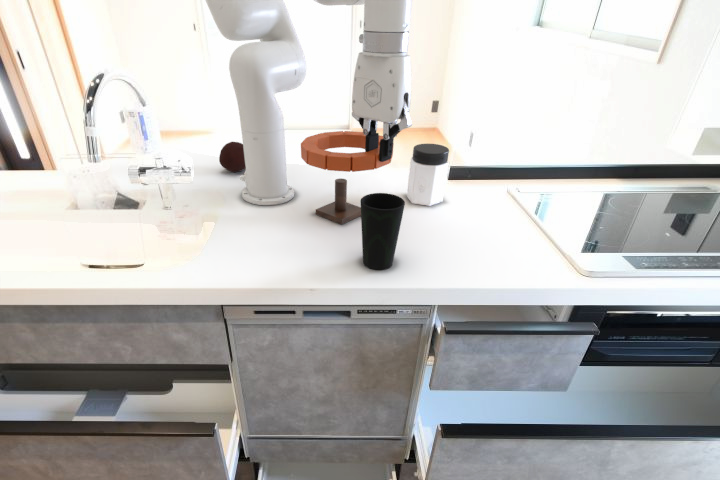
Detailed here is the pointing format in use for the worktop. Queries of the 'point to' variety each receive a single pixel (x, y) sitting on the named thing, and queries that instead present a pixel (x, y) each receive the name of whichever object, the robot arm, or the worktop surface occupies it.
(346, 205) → the stand
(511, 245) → the worktop surface
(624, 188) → the worktop surface
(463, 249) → the worktop surface
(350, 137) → the ring
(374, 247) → the cup
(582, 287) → the worktop surface
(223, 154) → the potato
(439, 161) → the jar
